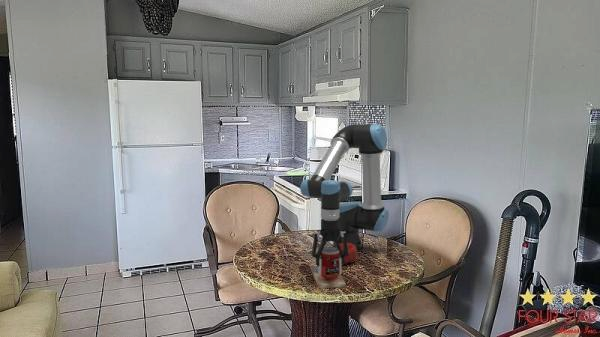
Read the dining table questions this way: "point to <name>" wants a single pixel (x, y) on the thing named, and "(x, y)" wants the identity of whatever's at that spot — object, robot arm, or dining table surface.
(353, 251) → the red apple
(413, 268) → the dining table surface
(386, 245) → the dining table surface
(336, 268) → the canned food
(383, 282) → the dining table surface
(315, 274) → the board
